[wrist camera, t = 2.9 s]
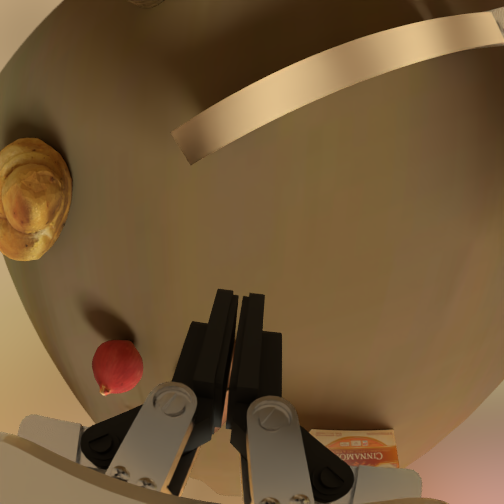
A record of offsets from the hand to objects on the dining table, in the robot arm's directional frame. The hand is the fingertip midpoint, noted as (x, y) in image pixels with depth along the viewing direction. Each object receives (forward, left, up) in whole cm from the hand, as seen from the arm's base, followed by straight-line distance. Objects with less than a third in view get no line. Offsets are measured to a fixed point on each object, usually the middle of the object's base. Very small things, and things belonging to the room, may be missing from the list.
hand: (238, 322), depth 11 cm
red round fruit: (+13, +18, -12) cm, 26 cm away
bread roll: (+21, +1, -13) cm, 25 cm away
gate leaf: (-4, -10, -12) cm, 16 cm away
